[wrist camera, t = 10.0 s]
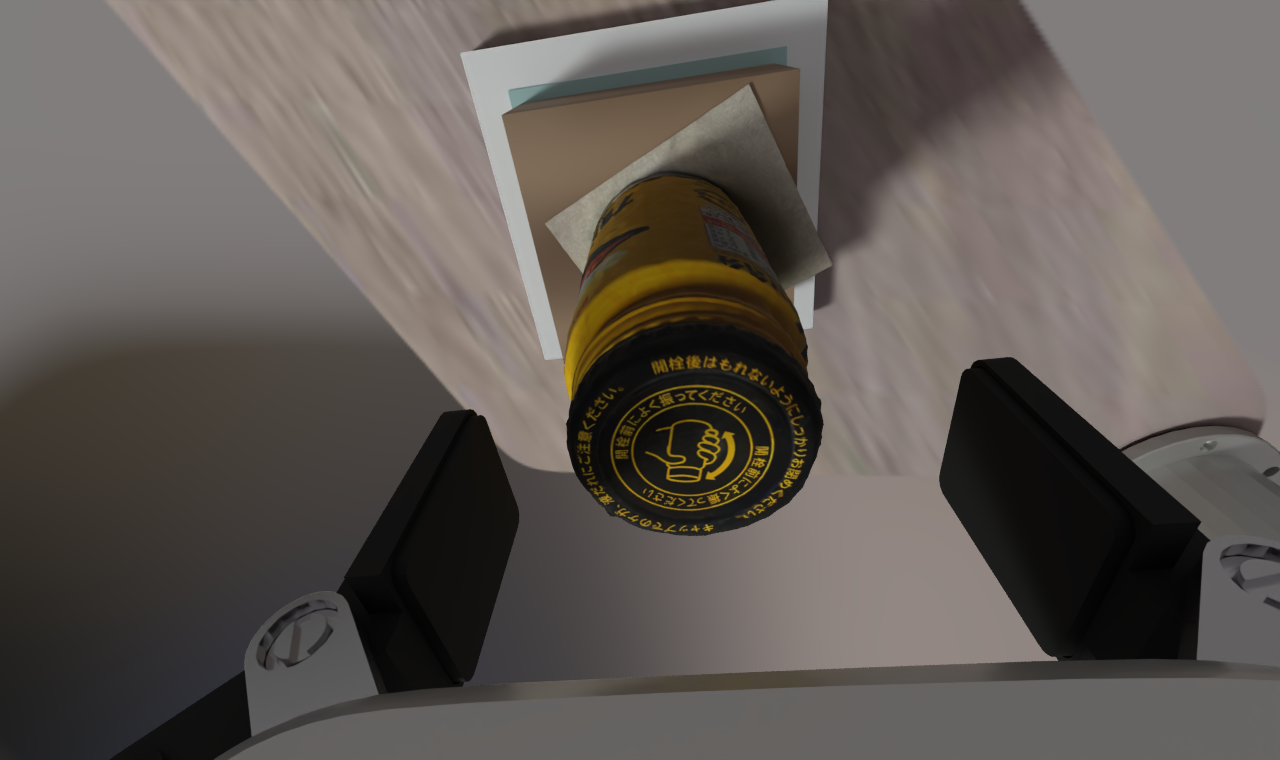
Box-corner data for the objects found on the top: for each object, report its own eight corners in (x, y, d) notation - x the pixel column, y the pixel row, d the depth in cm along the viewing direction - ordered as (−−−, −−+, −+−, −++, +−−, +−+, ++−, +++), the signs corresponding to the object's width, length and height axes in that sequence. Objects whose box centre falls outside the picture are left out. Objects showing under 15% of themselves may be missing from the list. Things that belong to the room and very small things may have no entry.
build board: (804, 315, 28) (813, 329, 27) (549, 346, 29) (544, 360, 28) (816, -6, 20) (829, -9, 19) (470, 52, 22) (459, 53, 20)
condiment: (545, 222, 20) (447, 413, 10) (748, 83, 17) (896, 150, 7) (648, 361, 23) (653, 609, 13) (830, 262, 21) (1009, 476, 11)
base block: (773, 298, 26) (793, 337, 22) (574, 322, 27) (564, 363, 23) (774, 63, 20) (800, 68, 17) (523, 102, 21) (501, 115, 18)
